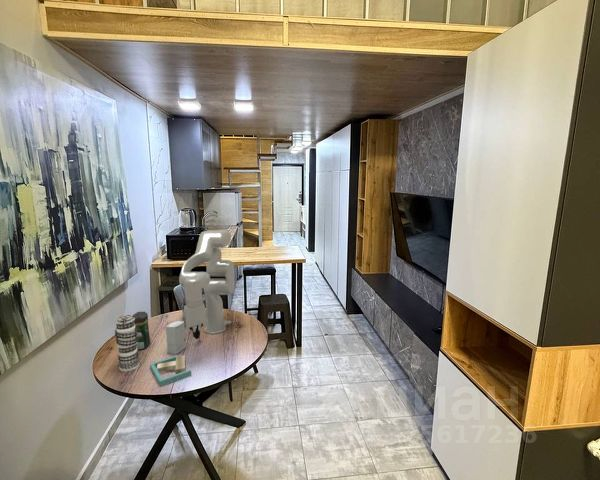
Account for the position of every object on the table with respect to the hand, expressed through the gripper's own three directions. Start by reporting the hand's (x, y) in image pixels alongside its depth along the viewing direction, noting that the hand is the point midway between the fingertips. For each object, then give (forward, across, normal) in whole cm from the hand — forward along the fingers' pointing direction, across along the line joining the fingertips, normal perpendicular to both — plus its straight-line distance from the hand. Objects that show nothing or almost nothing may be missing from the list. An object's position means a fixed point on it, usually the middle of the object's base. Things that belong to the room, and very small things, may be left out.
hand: (196, 337), depth 156 cm
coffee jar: (+14, +19, -34) cm, 41 cm away
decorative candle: (+13, +28, -16) cm, 35 cm away
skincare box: (+14, +5, -18) cm, 23 cm away
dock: (+12, +13, +2) cm, 18 cm away
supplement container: (+16, -15, -53) cm, 58 cm away
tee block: (+12, +13, -1) cm, 18 cm away
